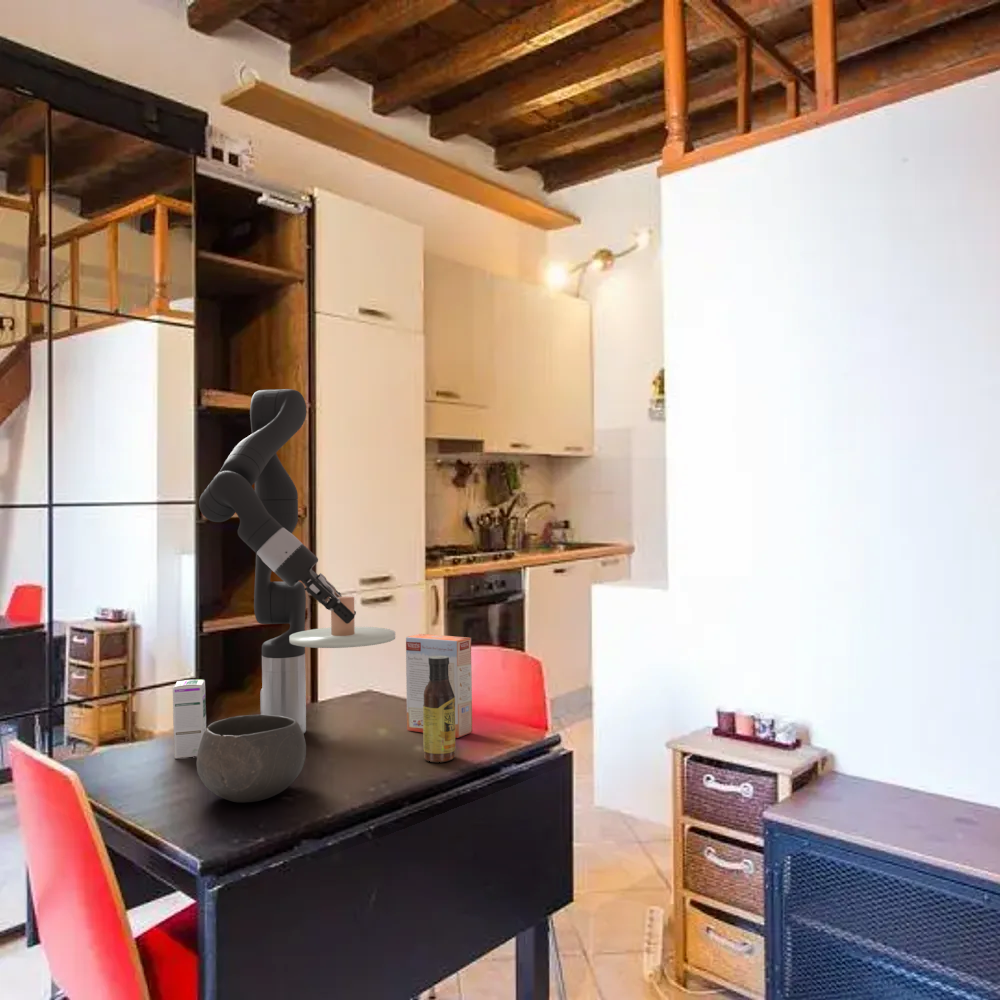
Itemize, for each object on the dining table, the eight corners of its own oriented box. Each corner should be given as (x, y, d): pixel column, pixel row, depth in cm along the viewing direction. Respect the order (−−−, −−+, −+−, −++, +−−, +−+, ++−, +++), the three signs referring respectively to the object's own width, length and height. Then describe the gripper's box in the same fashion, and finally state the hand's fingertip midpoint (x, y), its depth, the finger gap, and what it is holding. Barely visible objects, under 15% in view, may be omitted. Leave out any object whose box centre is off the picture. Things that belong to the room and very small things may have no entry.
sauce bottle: (450, 764, 160) (449, 660, 160) (419, 763, 161) (418, 659, 161) (459, 754, 166) (458, 654, 166) (429, 753, 167) (427, 653, 168)
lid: (267, 641, 160) (267, 599, 160) (349, 628, 175) (349, 590, 175) (335, 651, 147) (334, 606, 147) (416, 637, 162) (416, 596, 162)
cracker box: (473, 732, 182) (472, 636, 182) (457, 739, 177) (456, 640, 177) (422, 724, 190) (421, 632, 190) (405, 730, 184) (404, 635, 185)
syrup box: (204, 756, 167) (203, 684, 167) (172, 759, 166) (172, 685, 166) (207, 748, 173) (206, 678, 173) (176, 751, 171) (175, 680, 171)
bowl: (173, 808, 138) (172, 731, 138) (242, 775, 155) (242, 706, 155) (264, 821, 132) (263, 741, 132) (326, 785, 149) (325, 714, 149)
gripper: (297, 544, 153) (364, 608, 155) (305, 541, 167) (367, 600, 169) (267, 573, 152) (335, 638, 154) (278, 568, 167) (340, 627, 168)
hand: (351, 618), depth 161 cm, fingers closed on lid, 4 cm apart
